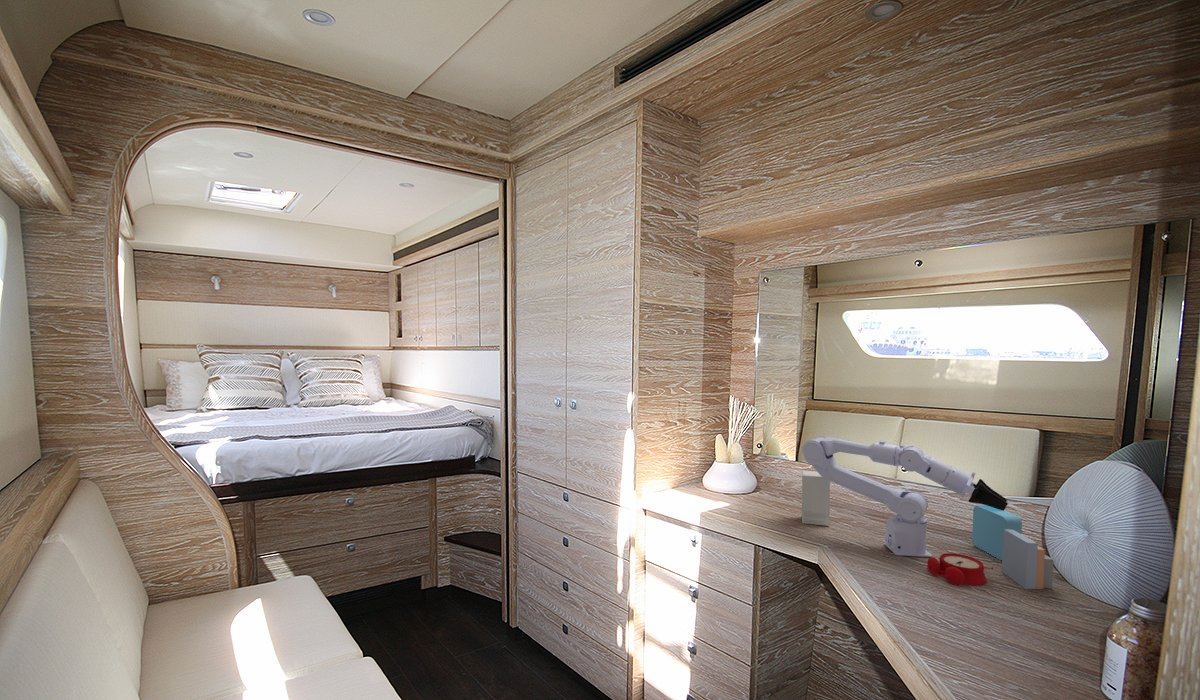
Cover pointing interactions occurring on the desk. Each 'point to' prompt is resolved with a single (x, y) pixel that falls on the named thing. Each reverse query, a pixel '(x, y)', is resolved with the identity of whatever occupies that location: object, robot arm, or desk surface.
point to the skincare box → (815, 499)
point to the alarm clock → (958, 569)
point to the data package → (992, 528)
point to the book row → (1026, 561)
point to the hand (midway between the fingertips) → (1005, 505)
